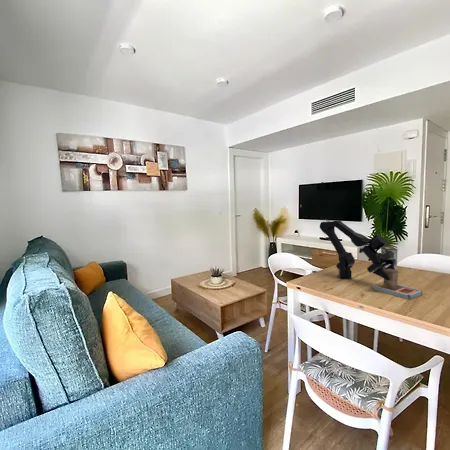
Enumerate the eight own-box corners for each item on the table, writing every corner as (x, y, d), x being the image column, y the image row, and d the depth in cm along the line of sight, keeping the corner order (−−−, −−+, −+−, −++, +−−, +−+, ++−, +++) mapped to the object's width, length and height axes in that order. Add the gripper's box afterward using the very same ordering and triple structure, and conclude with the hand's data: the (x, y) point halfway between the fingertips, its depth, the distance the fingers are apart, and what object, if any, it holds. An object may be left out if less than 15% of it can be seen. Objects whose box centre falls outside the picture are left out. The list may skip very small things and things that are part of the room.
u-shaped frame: (372, 289, 136) (372, 285, 136) (384, 284, 142) (385, 281, 141) (409, 299, 120) (409, 295, 120) (422, 294, 126) (422, 290, 126)
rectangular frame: (394, 294, 127) (394, 291, 127) (404, 290, 132) (404, 287, 132) (408, 298, 122) (408, 294, 122) (417, 294, 126) (417, 290, 126)
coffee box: (380, 269, 170) (381, 246, 169) (391, 269, 169) (391, 246, 167) (386, 273, 161) (386, 249, 160) (397, 273, 160) (398, 249, 158)
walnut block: (383, 289, 134) (383, 269, 133) (388, 288, 137) (388, 268, 135) (392, 292, 130) (392, 271, 129) (397, 290, 133) (397, 270, 132)
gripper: (373, 248, 130) (395, 273, 122) (392, 244, 139) (415, 267, 131) (358, 260, 138) (378, 285, 129) (378, 255, 147) (398, 278, 138)
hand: (393, 278), depth 132 cm, fingers open, 8 cm apart
